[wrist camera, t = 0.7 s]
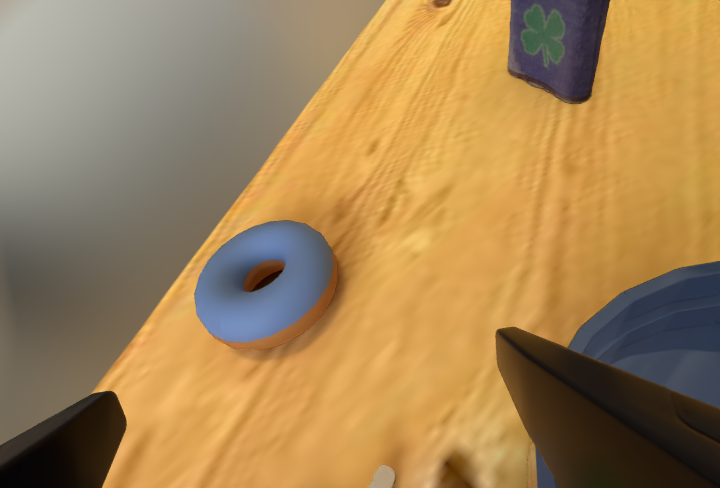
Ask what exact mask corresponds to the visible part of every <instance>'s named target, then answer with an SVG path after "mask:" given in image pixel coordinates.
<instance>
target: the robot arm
mask: <svg viewBox="0 0 720 488" xmlns="http://www.w3.org/2000/svg"><path fill="white" fill-rule="evenodd" d="M495 337H496V354H497V364H498V368H499V371H500V373H501V375H502V377H503V380H504V382H505V384H506V386H507V389H508V391H509V393H510V395H511V398H512V400H513V402H514V404H515V407H516V409H517V411H518V413H519V416H520V418H521V420H522V422H523V424H524V426H525V428H526V430H527V432H528V434H529V436H530V438H531V440H532V441H533V443H534V445H535V446H536V448H537V450H538V451H539V453H540V455H541V457H542V458H543V460H544V462H545V463H546V465H547V467H548V469H549V470H550V472H551V474H552V475H553V477H554V479H555V480H556V482H557V484H558V486H559V487H560V488H720V408H717V407H715V406H712V405H709V404H707V403H704V402H702V401H699V400H696V399H694V398H691V397H689V396H687V395H684V394H682V393H679V392H677V391H670V389H669V388H666V387H664V386H661V385H659V384H656V383H654V382H651V381H649V380H646V379H644V378H641V377H639V376H636V375H634V374H631V373H629V372H626V371H624V370H621V369H619V368H616V367H614V366H611V365H609V364H606V363H604V362H601V361H599V360H596V359H594V358H591V357H589V356H586V355H584V354H581V353H579V352H576V351H574V350H571V349H569V348H566V347H564V346H561V345H559V344H556V343H554V342H551V341H549V340H546V339H544V338H541V337H539V336H536V335H534V334H531V333H529V332H526V331H524V330H521V329H519V328H516V327H507V328H501V329H498V330H497V331H496V335H495ZM126 426H127V421H126V417H125V415H124V412H123V410H122V407H121V405H120V402H119V400H118V398H117V395H116V394H115V393H114V392H112V391H105V392H98V393H94V394H91V395H89V396H88V397H86V398H84V399H82V400H80V401H79V402H77V403H75V404H73V405H72V406H70V407H68V408H66V409H64V410H63V411H61V412H59V413H57V414H55V415H54V416H52V417H50V418H48V419H46V420H45V421H43V422H41V423H39V424H38V425H36V426H34V427H32V428H31V429H29V430H27V431H26V432H23V433H21V434H20V435H18V436H16V437H14V438H13V439H11V440H9V441H7V442H5V443H4V444H2V445H0V488H102V486H103V484H104V481H105V479H106V477H107V474H108V472H109V469H110V467H111V464H112V462H113V460H114V457H115V455H116V452H117V450H118V448H119V445H120V443H121V440H122V438H123V435H124V433H125V430H126Z"/></svg>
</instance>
